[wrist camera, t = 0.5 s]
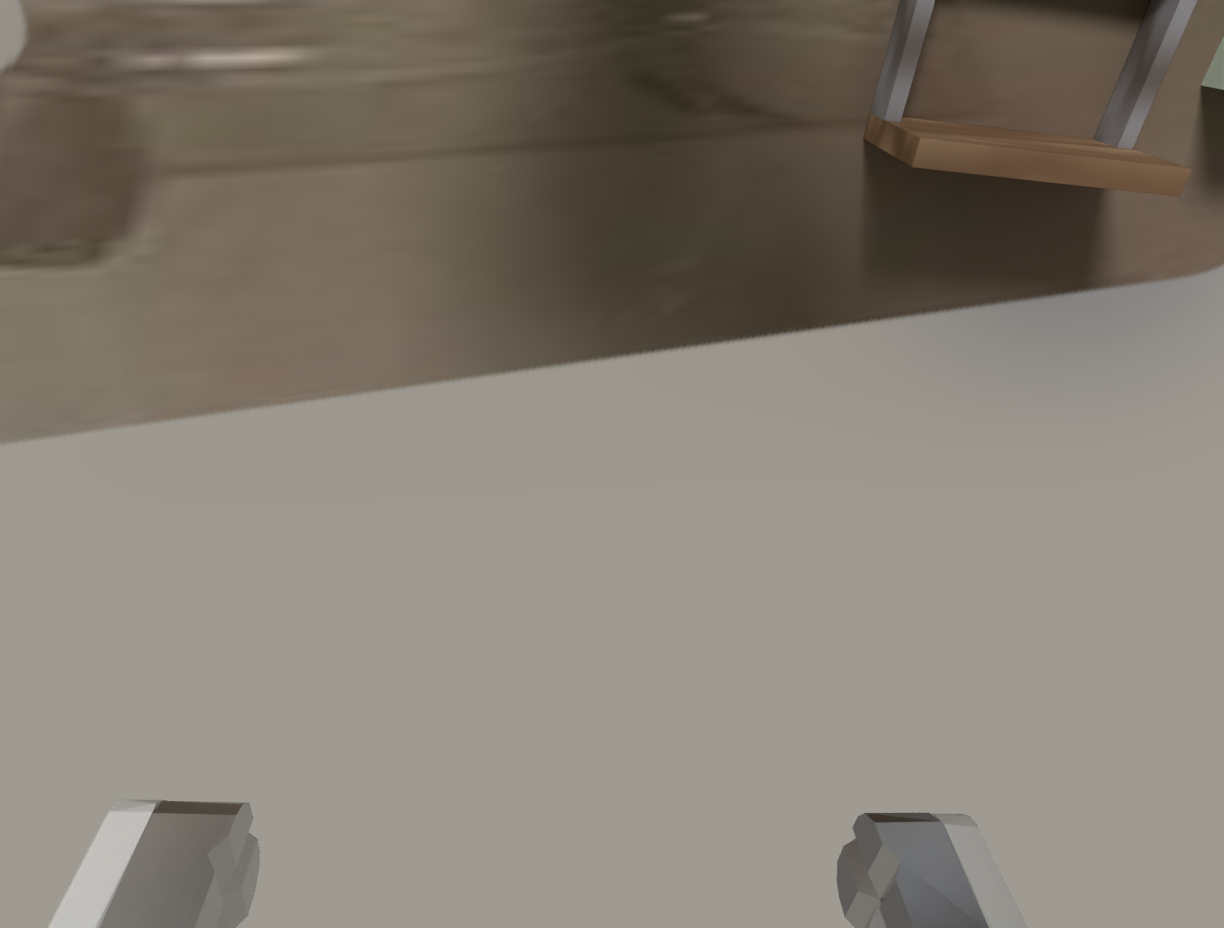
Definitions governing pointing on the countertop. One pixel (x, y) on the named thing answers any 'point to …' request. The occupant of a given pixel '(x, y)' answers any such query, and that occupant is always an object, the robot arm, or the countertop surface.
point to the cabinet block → (1216, 70)
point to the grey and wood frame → (1030, 152)
